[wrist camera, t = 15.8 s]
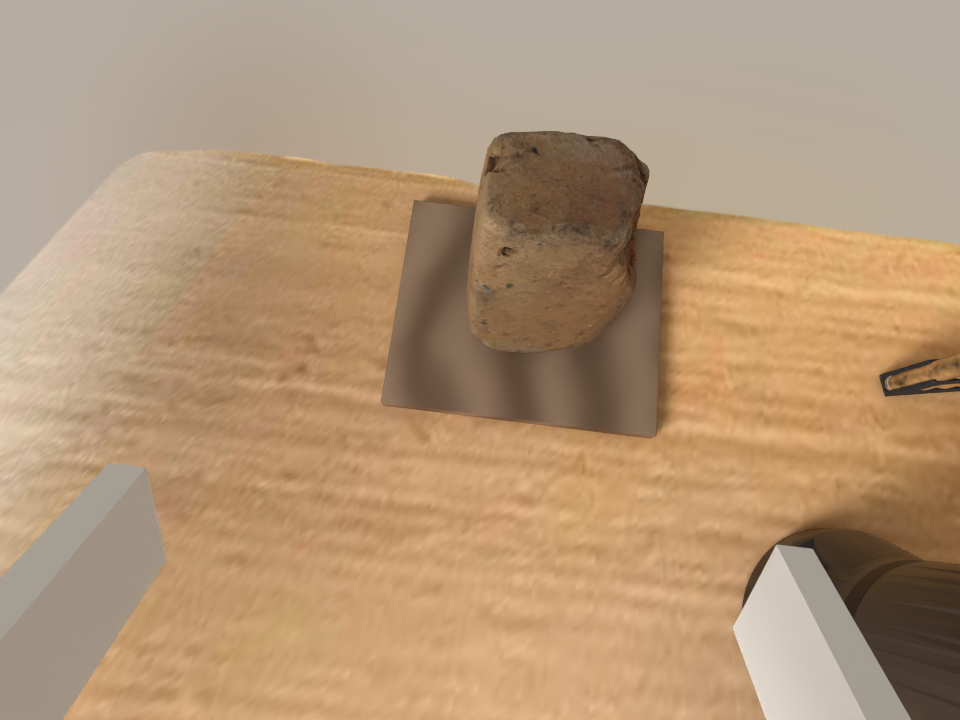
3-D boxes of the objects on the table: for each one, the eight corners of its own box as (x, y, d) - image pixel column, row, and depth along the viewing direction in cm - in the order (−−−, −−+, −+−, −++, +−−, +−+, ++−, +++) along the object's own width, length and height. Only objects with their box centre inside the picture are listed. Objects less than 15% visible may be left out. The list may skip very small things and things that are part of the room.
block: (460, 349, 47) (465, 234, 28) (470, 265, 49) (481, 103, 30) (592, 364, 47) (688, 259, 28) (597, 279, 49) (689, 127, 30)
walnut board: (657, 239, 52) (663, 231, 51) (650, 438, 47) (656, 435, 46) (415, 208, 52) (414, 200, 50) (382, 405, 47) (380, 401, 46)
